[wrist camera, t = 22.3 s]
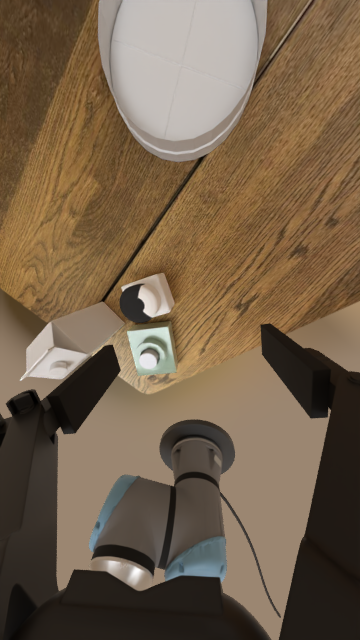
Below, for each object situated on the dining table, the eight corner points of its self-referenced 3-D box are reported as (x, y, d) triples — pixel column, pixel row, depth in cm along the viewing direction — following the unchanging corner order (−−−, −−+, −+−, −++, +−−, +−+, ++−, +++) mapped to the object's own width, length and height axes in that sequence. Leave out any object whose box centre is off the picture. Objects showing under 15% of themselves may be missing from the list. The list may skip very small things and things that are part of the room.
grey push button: (160, 363, 36) (158, 368, 34) (143, 364, 37) (141, 370, 35) (157, 347, 35) (154, 352, 33) (140, 349, 36) (137, 354, 34)
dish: (131, -64, 23) (114, -148, 19) (283, -5, 24) (306, -72, 19) (102, 137, 30) (84, 113, 25) (220, 180, 31) (225, 165, 26)
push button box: (178, 363, 42) (175, 378, 37) (143, 366, 43) (135, 381, 38) (170, 320, 39) (166, 330, 34) (133, 325, 40) (122, 335, 35)
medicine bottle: (145, 313, 39) (125, 332, 28) (133, 283, 37) (106, 290, 26) (175, 304, 38) (166, 320, 27) (164, 272, 36) (149, 275, 25)
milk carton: (84, 320, 41) (-3, 362, 23) (103, 300, 39) (24, 330, 21) (107, 341, 42) (40, 397, 24) (126, 323, 40) (69, 369, 22)
